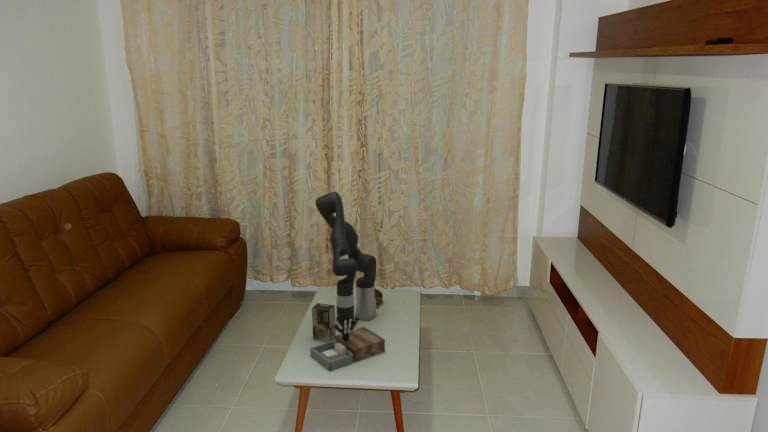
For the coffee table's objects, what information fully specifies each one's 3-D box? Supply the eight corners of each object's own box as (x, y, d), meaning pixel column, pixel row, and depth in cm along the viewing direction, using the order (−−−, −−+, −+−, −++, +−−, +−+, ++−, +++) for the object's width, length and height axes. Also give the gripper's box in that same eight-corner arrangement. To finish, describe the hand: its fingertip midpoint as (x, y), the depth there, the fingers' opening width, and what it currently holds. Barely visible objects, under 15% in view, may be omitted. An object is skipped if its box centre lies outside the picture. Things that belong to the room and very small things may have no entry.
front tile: (321, 352, 244) (322, 357, 244) (327, 356, 240) (327, 362, 240) (332, 349, 246) (332, 354, 247) (337, 353, 242) (337, 358, 243)
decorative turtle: (377, 296, 312) (378, 283, 310) (386, 309, 299) (387, 295, 296) (360, 298, 309) (361, 284, 307) (368, 310, 296) (369, 296, 293)
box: (334, 348, 254) (333, 340, 253) (353, 362, 241) (353, 354, 240) (310, 356, 247) (310, 347, 246) (329, 371, 234) (329, 362, 233)
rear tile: (339, 342, 247) (334, 344, 245) (346, 346, 243) (341, 348, 241) (339, 353, 248) (334, 354, 246) (346, 357, 244) (341, 359, 243)
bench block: (364, 338, 263) (364, 326, 262) (384, 351, 251) (384, 339, 249) (334, 348, 254) (334, 335, 252) (354, 362, 242) (354, 349, 240)
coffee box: (336, 337, 265) (335, 305, 261) (330, 343, 259) (329, 310, 255) (318, 334, 268) (317, 302, 264) (312, 340, 262) (311, 307, 258)
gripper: (353, 297, 249) (353, 333, 253) (327, 304, 241) (328, 341, 245) (362, 302, 243) (363, 339, 247) (336, 310, 235) (337, 347, 240)
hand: (345, 340), depth 246 cm, fingers closed
